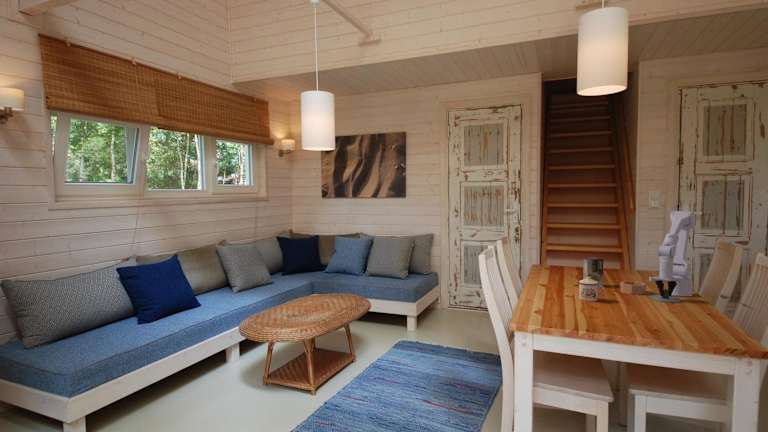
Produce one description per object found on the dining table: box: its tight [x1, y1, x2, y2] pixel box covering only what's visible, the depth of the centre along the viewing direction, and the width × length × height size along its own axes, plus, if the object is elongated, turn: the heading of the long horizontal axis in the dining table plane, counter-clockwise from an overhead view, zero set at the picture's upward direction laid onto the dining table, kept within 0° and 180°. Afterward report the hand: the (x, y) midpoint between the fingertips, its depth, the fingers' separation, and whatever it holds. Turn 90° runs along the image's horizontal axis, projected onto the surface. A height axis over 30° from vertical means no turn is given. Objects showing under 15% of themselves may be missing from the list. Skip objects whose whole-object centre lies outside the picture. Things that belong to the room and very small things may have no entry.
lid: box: [650, 289, 682, 304], centre depth 219 cm, size 13×13×5 cm
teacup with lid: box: [578, 277, 606, 302], centre depth 220 cm, size 12×9×12 cm
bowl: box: [619, 280, 647, 296], centre depth 234 cm, size 11×11×5 cm
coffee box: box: [582, 256, 604, 287], centre depth 250 cm, size 9×6×16 cm
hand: (665, 295), depth 219 cm, fingers closed on lid, 3 cm apart
